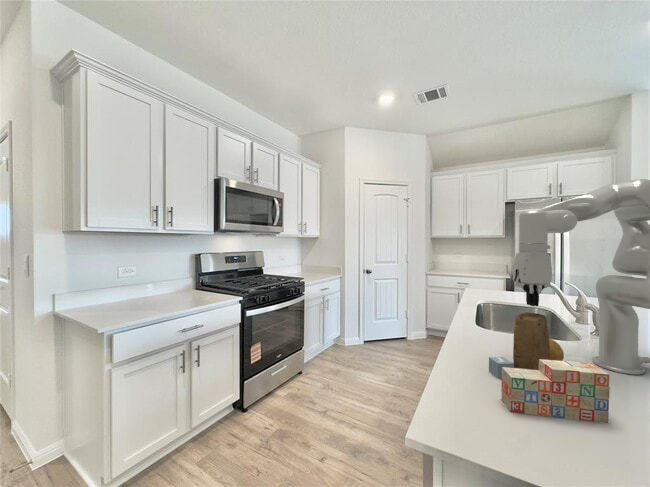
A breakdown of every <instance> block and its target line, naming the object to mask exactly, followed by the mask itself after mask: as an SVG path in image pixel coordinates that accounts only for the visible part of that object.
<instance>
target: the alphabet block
mask: <svg viewBox="0 0 650 487" xmlns="http://www.w3.org/2000/svg"><path fill="white" fill-rule="evenodd" d="M502 367H508V368H514V362H512V361H511V360H509V359H507V358H506V357H504V356H489V357H488V373H490V374H491V375H492V376H494V378H496V379H497V380H502Z"/></svg>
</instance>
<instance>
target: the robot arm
mask: <svg viewBox="0 0 650 487" xmlns="http://www.w3.org/2000/svg"><path fill="white" fill-rule="evenodd" d="M612 211H614V212H613V213H614V215H615V218H616V219H617V221H618V222H619V224H620V227H621V229H622V236H621V238H620V242H619V243H618V247H617V249H616V251H615V254H614V256H613V259H612V262H611V263H612V268H613V269H614V270H615V271H616V272H618V273H620V274H625V275H616V274H612V275H611V274H610V275H605V276H601V277H599V279H598V280H597V281H596V284H595V292H596V296H597V300H598V310H599V312H598V314H599V317H598V355H595V356H593V357H592V363H594V365H595V366H597V367H599V368H603V369H606V370H608V371H612V372H616V373H620V374H626V375H632V376H633V375H635V376H636V375H644V374H645V373H646V372H645V371H646V369H645V367H643V366H642V364H650V357H649V356H639V325H640V324H639V323H640V322H639V320H640V319H639V316H638V313H637V312H636V310H635V309H634V307H636V308H641V309H647V310H650V224H649V222H650V179H649V178H648V179H647V178H637V179H632V180H625V181H619V182H612V183H608V184H606V185H604V186H601V187H599V188H596V189H594V190H591V191H589V192H587V193H585V194H582V195H579V196H575V197H573V198H570V199H566V200H564V201H563V200H562V201H561V202H556V203H553V204H551V205H547V206H544V207H542V208H539V209H537V210H534V209H533V210H524V211H521V212H520V213H519V215H518V252H516V253H515V256H514V262H513V268H512V281H513V282H515V283H514V286H515V288H516V287H517V288H521V289H522V290H523V291H524V292H525V297H526V298H525V300H526V305H529V306H530V307H539V302H540V294H542V291H543V290H544V289H547V288H550V287H551V283H552V281H553V268H552V259H551V256H550V253H548V252H549V251H548V250H551V245H549V244H548V243H549V242H548V241H549V240H548V238H549V234H563V233H564V234H565V233H568V232H571V231H572V230H574V229H575V227H576V226H577V225H578V222H583V221H589V220H592V219H596V218H598V217H601V216H603V215H605V214H607V213H610V212H612ZM648 221H649V222H648ZM626 275H627V276H626ZM628 275H631V276H628ZM635 276H640V277H635ZM642 277H646V278H642Z"/></svg>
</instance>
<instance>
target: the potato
mask: <svg viewBox="0 0 650 487" xmlns="http://www.w3.org/2000/svg"><path fill="white" fill-rule="evenodd" d="M549 346H550V351H549V360H557V361H564V359H565V356H564V354H565V352H564V349H563V348H562V347H561V345H560V343H558V342H557V341H555V340H554V339H552V338H550V337H549Z"/></svg>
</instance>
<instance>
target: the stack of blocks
mask: <svg viewBox="0 0 650 487" xmlns="http://www.w3.org/2000/svg"><path fill="white" fill-rule="evenodd" d="M610 389H611V388H610V374H609V373H607V372H606V371H605V370H603V369H601V367H599V366H597V365H596V364H593V363H585V362H579V361H572V360H571V361H570V360H562V361H557V360H543V359H539V370H529V369H519V368H508V367H502V379H501V401H503V403H504V404H505V406H506V407H507V409H508V410H509V411H510V413H518V414H526V415H532V416H542V417H549V418H558V419H568V420H575V421H576V420H577V421H584V422H593V423H600V424H609V421H610V420H609V415H610V414H609V413H610V412H609V409H610V408H609V407H610V406H609V405H610V394H611V393H610V392H611V391H610Z"/></svg>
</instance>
